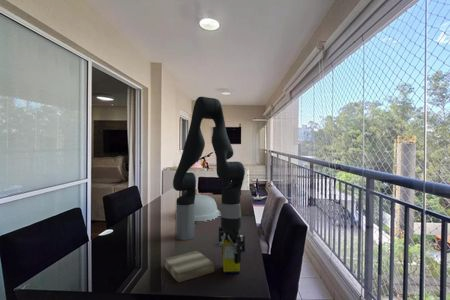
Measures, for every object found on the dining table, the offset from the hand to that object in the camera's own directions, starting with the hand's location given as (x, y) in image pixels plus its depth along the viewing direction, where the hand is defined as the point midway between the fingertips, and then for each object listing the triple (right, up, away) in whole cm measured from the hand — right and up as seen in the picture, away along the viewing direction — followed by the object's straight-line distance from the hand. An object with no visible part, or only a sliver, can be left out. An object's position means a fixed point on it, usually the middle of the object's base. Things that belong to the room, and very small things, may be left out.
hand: (231, 258), depth 92 cm
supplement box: (0, -4, 0) cm, 4 cm away
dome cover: (-21, -5, +78) cm, 81 cm away
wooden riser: (-16, -4, +1) cm, 16 cm away
